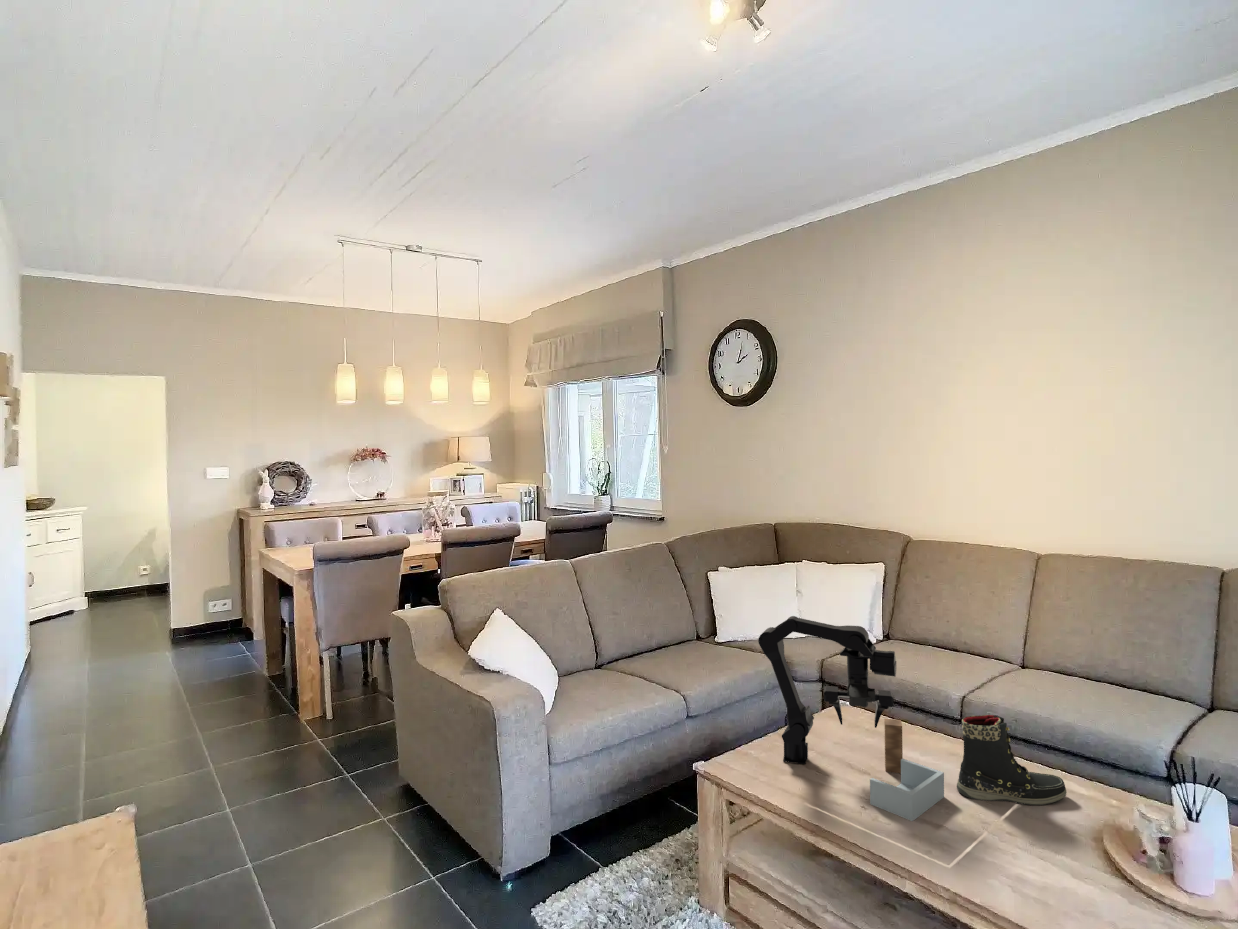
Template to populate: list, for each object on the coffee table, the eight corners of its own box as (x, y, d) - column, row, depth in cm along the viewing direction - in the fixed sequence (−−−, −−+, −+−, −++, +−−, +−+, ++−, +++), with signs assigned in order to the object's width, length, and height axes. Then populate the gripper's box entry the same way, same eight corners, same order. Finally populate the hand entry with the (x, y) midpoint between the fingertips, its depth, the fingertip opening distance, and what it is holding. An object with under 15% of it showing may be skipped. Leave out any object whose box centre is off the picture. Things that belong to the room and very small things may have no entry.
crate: (870, 806, 179) (869, 779, 179) (903, 783, 190) (902, 758, 190) (912, 823, 170) (911, 795, 170) (944, 798, 182) (943, 772, 182)
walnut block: (885, 773, 196) (885, 724, 196) (885, 766, 201) (884, 718, 200) (902, 775, 195) (902, 726, 195) (901, 768, 199) (901, 720, 199)
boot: (1075, 803, 178) (1074, 724, 178) (983, 814, 174) (982, 734, 173) (1037, 780, 191) (1037, 706, 190) (951, 790, 186) (950, 715, 186)
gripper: (823, 678, 193) (824, 733, 193) (894, 683, 187) (895, 740, 188) (823, 666, 203) (824, 718, 204) (891, 670, 198) (892, 724, 198)
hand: (858, 725), depth 198 cm, fingers open, 9 cm apart
